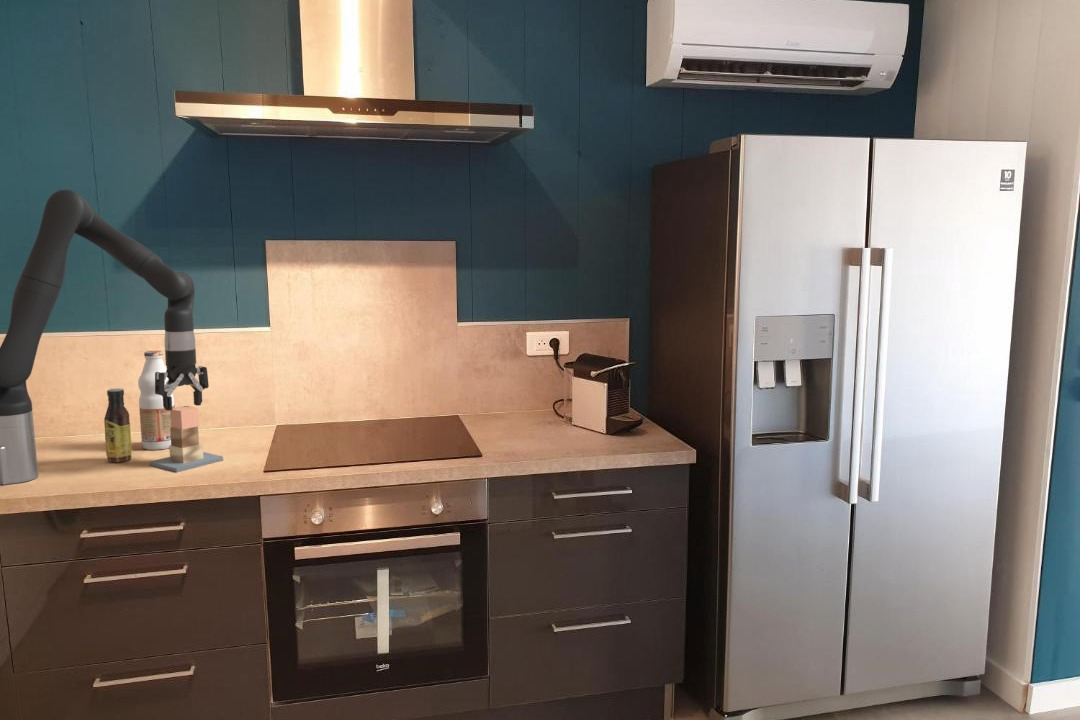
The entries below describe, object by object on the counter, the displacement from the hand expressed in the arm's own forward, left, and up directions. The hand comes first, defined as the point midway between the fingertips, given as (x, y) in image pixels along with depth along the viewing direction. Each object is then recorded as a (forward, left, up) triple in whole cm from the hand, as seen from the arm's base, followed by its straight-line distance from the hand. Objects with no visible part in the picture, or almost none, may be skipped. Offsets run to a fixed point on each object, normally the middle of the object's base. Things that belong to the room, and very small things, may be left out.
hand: (183, 407), depth 224 cm
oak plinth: (0, 0, -15) cm, 15 cm away
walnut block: (0, 0, -10) cm, 10 cm away
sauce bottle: (-9, +17, -16) cm, 25 cm away
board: (0, 0, -15) cm, 15 cm away
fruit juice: (+6, +22, -16) cm, 28 cm away
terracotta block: (0, 0, -5) cm, 5 cm away
